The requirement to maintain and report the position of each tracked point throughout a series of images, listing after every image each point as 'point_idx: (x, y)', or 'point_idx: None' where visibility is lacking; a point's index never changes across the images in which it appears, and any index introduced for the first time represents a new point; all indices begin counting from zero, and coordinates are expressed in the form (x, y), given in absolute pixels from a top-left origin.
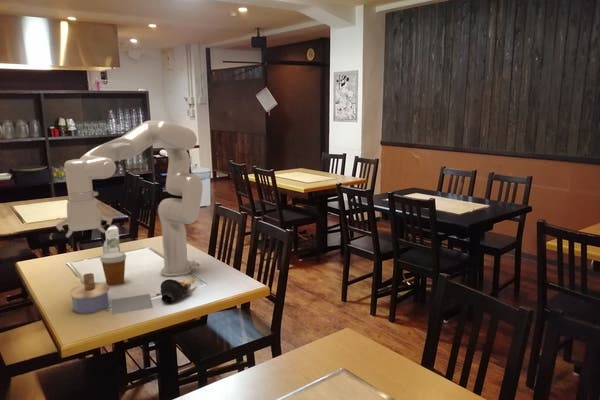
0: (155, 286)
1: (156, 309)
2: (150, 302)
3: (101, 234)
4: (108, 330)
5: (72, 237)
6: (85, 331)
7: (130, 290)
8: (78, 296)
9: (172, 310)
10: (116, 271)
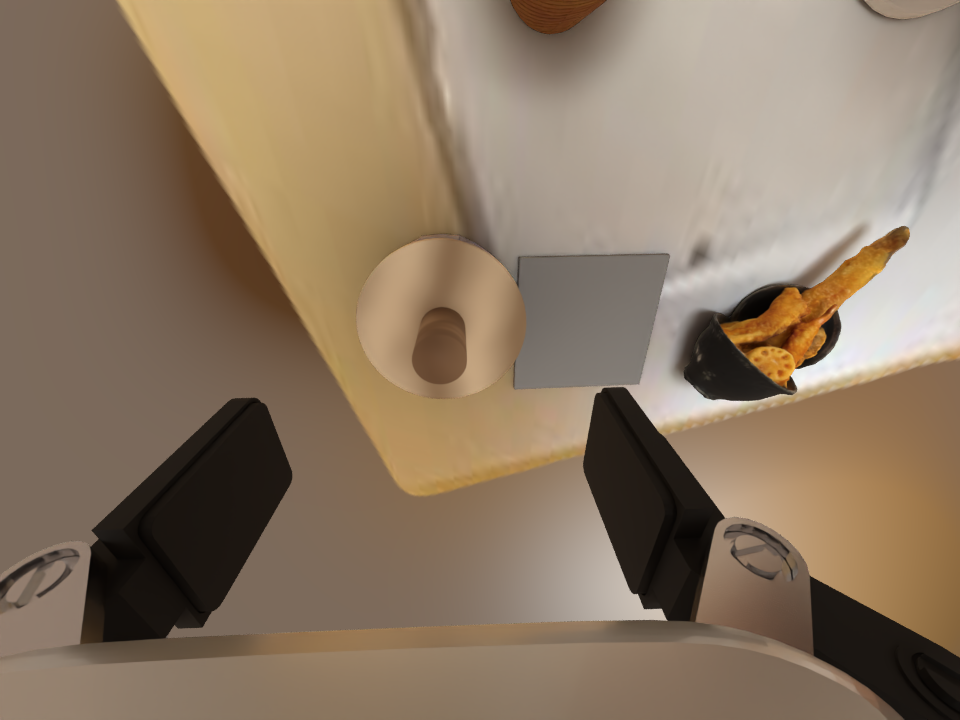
0: (726, 142)
1: (645, 384)
2: (645, 342)
3: (640, 591)
4: (500, 462)
5: (184, 494)
6: (443, 451)
7: (609, 149)
8: (404, 388)
9: (683, 406)
10: (593, 3)
